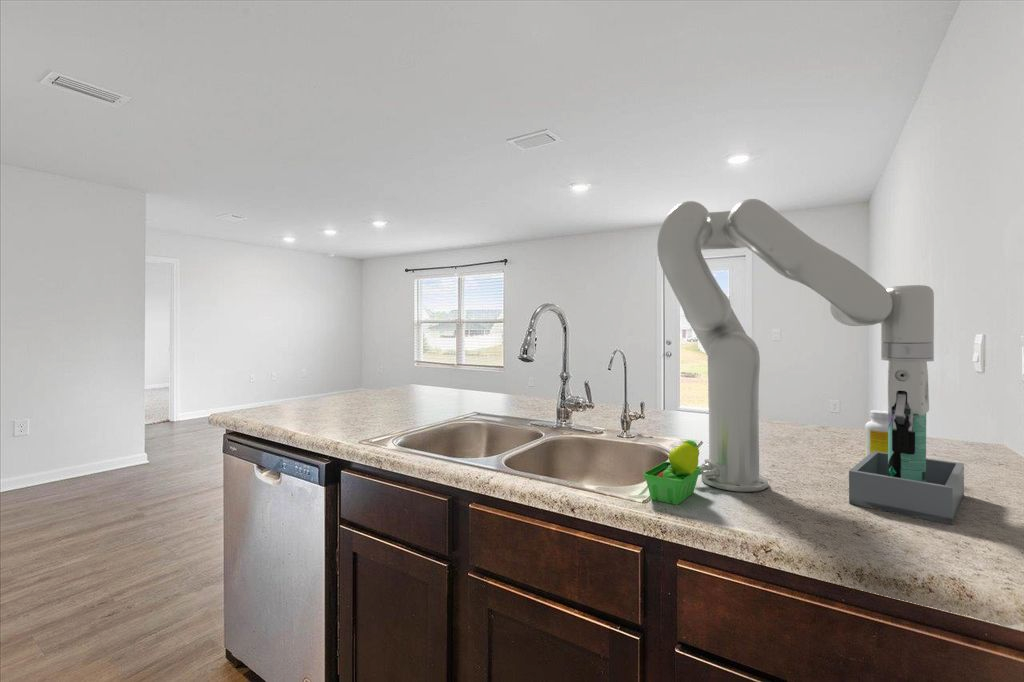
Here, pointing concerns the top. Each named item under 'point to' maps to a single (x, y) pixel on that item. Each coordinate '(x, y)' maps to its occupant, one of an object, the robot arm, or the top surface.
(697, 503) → the top surface
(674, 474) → the fruit basket
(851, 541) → the top surface
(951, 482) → the bin
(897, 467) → the spray can
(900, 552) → the top surface
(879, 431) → the supplement bottle
